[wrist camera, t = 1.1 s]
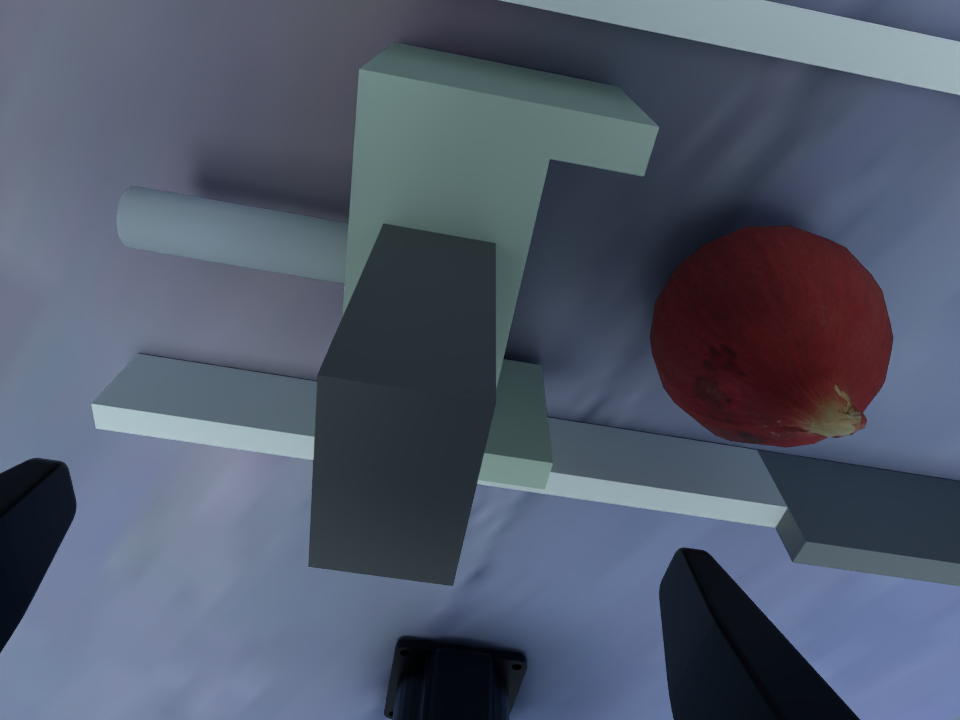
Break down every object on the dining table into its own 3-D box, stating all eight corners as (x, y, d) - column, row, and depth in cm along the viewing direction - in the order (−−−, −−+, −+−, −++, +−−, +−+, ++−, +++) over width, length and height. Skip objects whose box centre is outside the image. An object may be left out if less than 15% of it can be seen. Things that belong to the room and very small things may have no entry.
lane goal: (1006, 509, 25) (1163, 675, 19) (140, 376, 23) (15, 521, 17) (1340, 126, 17) (1777, 208, 11) (70, -144, 15) (-214, -217, 9)
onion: (707, 383, 22) (799, 564, 16) (592, 288, 20) (640, 447, 14) (852, 268, 20) (1035, 423, 13) (736, 148, 18) (881, 258, 11)
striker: (535, 389, 22) (564, 698, 13) (186, 333, 21) (-57, 623, 12) (617, 86, 17) (771, 237, 7) (158, -5, 16) (-322, 37, 7)
